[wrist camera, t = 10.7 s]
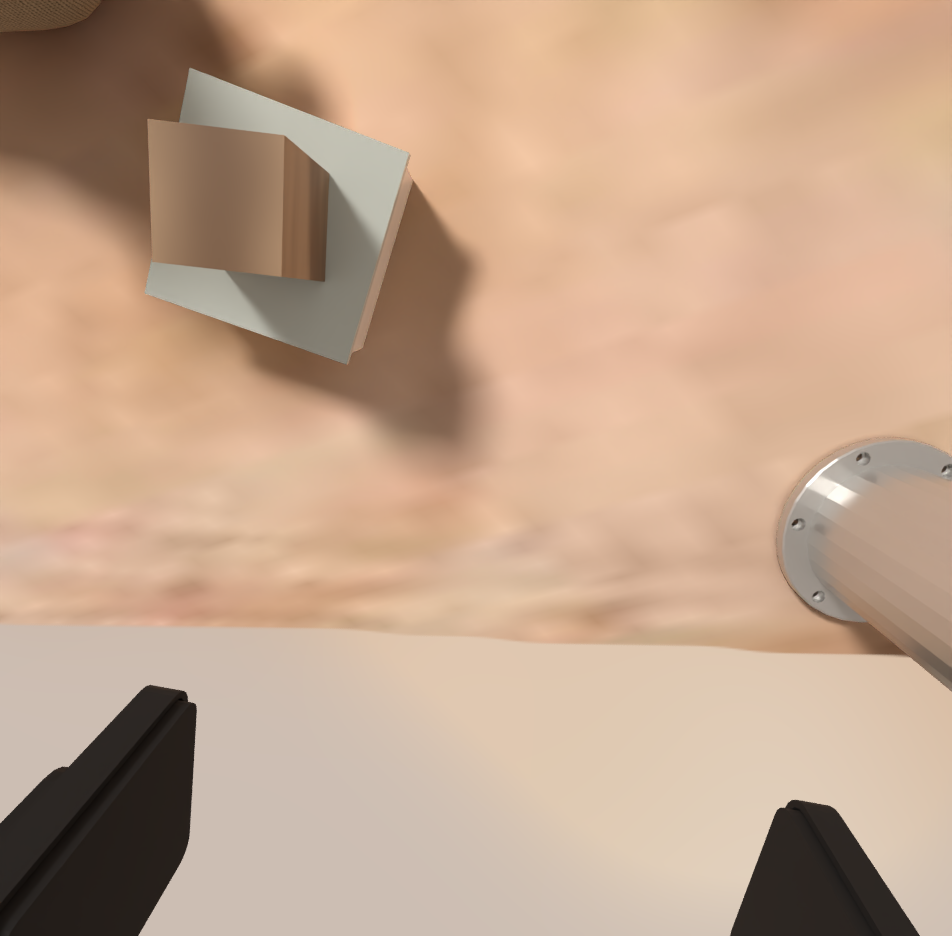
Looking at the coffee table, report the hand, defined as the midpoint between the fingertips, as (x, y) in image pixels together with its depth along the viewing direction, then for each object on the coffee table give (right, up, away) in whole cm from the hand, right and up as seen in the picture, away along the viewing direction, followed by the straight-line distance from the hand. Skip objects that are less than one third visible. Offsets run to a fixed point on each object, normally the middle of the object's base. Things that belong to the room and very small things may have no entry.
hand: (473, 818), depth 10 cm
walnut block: (-10, +18, +20) cm, 28 cm away
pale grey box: (-10, +19, +26) cm, 34 cm away
